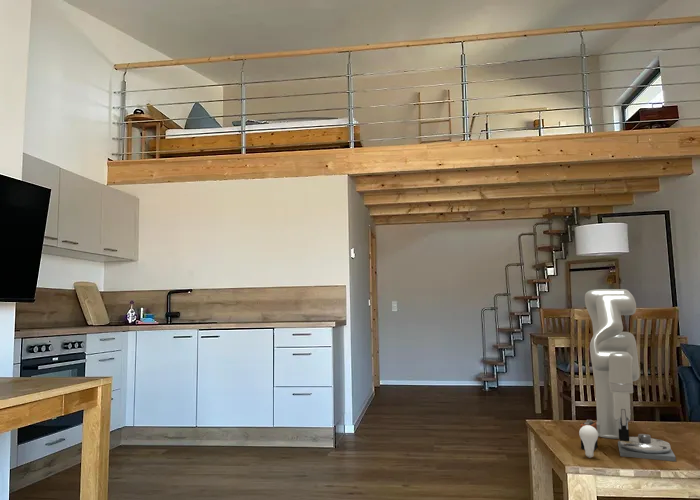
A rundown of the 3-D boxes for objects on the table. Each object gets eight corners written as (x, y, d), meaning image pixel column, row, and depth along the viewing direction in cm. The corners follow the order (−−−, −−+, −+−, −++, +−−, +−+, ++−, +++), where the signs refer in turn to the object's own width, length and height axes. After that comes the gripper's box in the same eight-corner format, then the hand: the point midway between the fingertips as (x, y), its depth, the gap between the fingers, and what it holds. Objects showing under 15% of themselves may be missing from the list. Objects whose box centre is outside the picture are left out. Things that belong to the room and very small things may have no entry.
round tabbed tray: (667, 444, 202) (666, 429, 202) (673, 455, 187) (672, 438, 188) (618, 440, 208) (617, 425, 209) (621, 450, 194) (620, 434, 194)
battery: (598, 447, 205) (596, 420, 206) (593, 451, 200) (591, 423, 201) (585, 445, 208) (584, 418, 209) (580, 449, 202) (579, 421, 204)
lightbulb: (597, 461, 187) (596, 427, 188) (578, 458, 190) (577, 425, 191) (600, 456, 192) (598, 424, 193) (581, 454, 195) (580, 422, 196)
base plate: (620, 456, 193) (620, 451, 193) (618, 445, 209) (617, 440, 209) (675, 461, 186) (675, 456, 186) (669, 449, 202) (668, 445, 202)
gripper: (609, 385, 205) (611, 435, 203) (610, 389, 191) (613, 444, 189) (631, 386, 202) (634, 437, 200) (634, 391, 188) (637, 446, 186)
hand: (624, 440), depth 195 cm, fingers closed
